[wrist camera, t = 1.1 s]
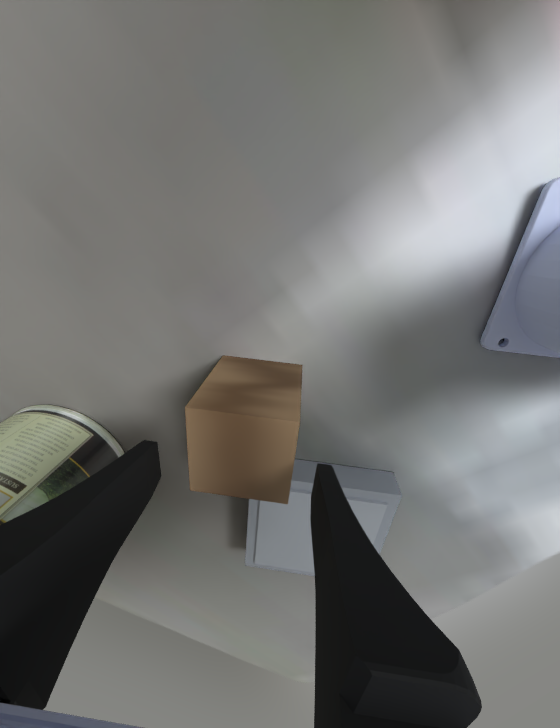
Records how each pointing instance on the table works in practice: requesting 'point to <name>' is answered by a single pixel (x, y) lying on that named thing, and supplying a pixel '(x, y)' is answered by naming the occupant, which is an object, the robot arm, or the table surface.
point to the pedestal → (292, 521)
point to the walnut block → (245, 429)
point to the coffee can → (48, 456)
